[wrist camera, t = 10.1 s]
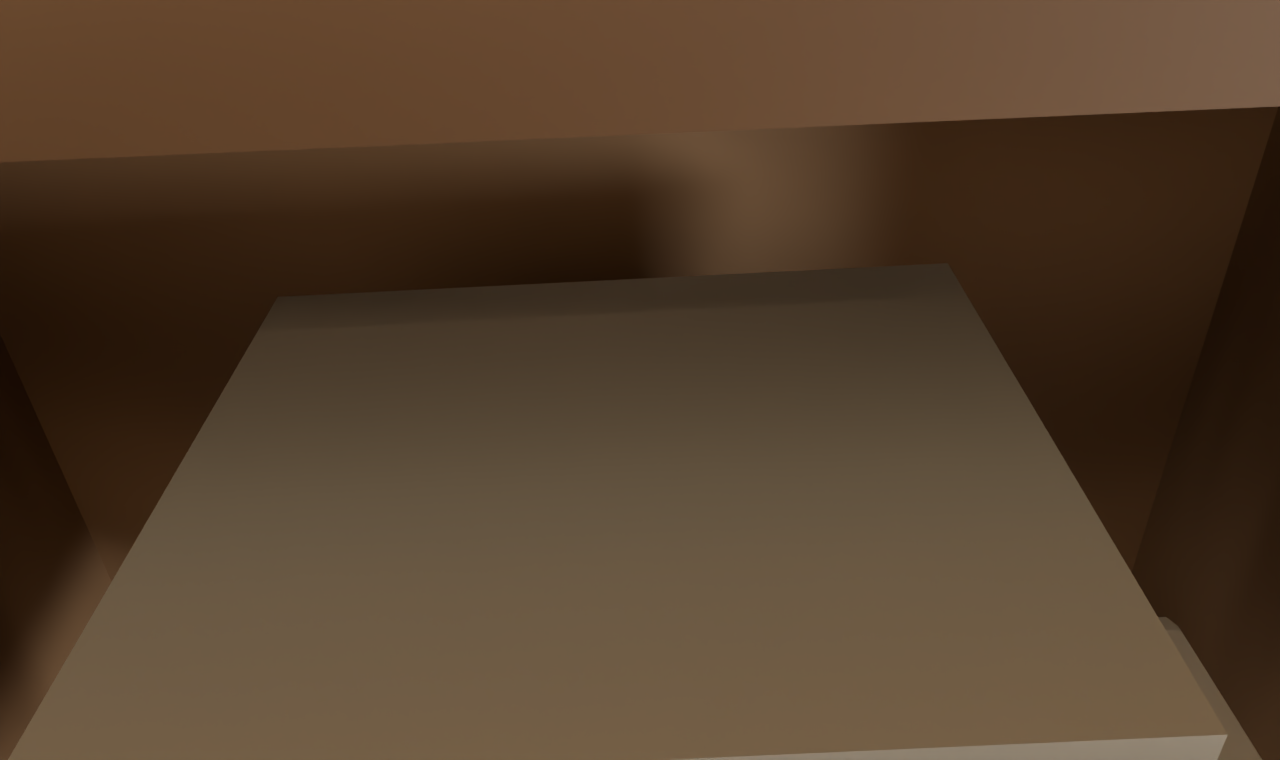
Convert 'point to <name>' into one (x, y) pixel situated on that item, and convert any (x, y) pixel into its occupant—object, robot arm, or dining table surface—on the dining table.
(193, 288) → the big crate
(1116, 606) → the box
